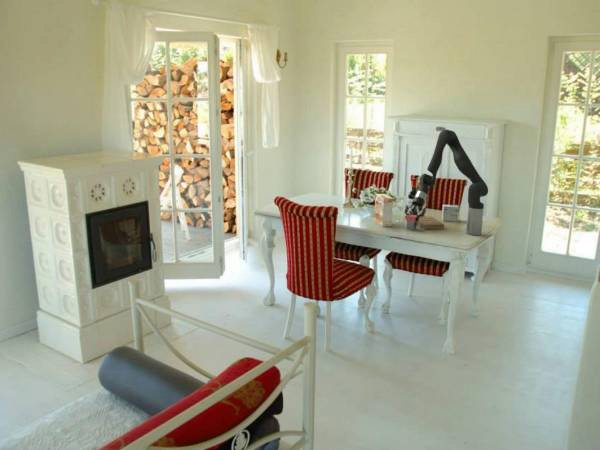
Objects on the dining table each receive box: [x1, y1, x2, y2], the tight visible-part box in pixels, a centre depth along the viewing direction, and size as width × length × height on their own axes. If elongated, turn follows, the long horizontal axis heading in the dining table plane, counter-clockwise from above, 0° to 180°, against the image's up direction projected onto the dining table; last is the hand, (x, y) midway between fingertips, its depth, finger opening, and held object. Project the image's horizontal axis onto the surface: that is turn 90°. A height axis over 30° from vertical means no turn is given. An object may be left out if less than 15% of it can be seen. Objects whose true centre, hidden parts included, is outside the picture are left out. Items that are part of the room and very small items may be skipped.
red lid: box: [405, 213, 418, 222], centre depth 374 cm, size 6×6×3 cm
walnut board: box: [417, 216, 445, 230], centre depth 387 cm, size 22×14×3 cm, turn 10°
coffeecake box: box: [373, 193, 394, 228], centre depth 386 cm, size 15×7×20 cm, turn 14°
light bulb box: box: [441, 204, 460, 223], centre depth 401 cm, size 11×7×11 cm, turn 84°
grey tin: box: [406, 220, 418, 231], centre depth 375 cm, size 5×5×8 cm
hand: (411, 219), depth 373 cm, fingers closed on red lid, 6 cm apart
